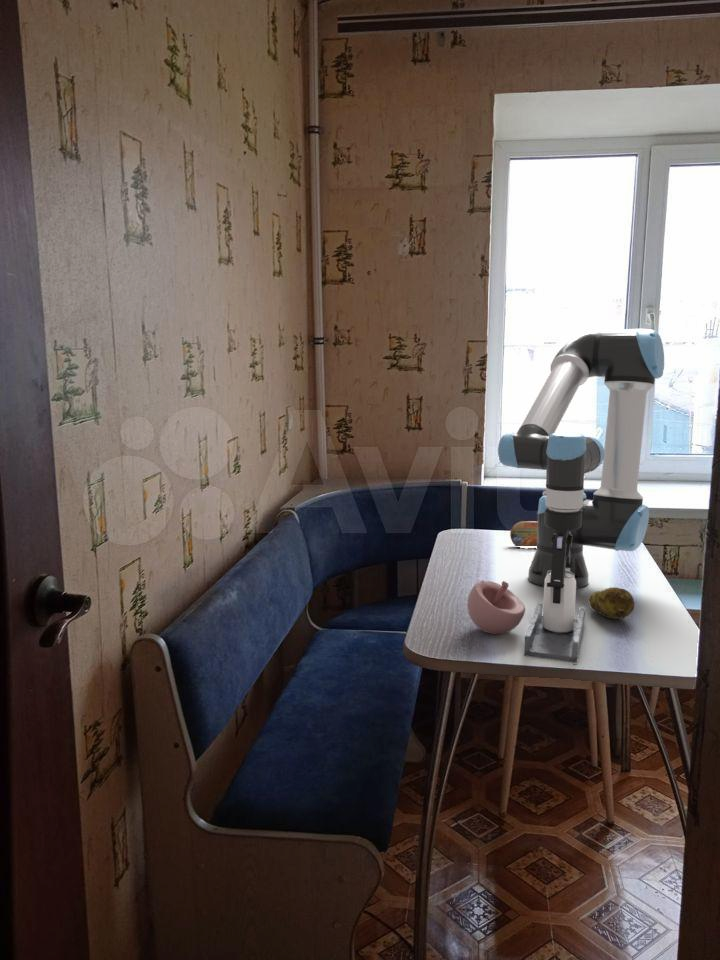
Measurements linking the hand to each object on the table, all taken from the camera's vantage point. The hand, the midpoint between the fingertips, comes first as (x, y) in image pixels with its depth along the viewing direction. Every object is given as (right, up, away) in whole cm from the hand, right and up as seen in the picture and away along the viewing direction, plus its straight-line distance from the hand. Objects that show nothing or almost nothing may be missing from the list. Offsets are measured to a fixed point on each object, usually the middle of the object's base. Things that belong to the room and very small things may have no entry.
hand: (559, 606), depth 161 cm
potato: (+14, -4, +9) cm, 17 cm away
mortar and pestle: (-13, -6, +1) cm, 15 cm away
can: (0, -5, +1) cm, 5 cm away
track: (-2, -6, -3) cm, 7 cm away
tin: (+11, +6, +72) cm, 73 cm away
